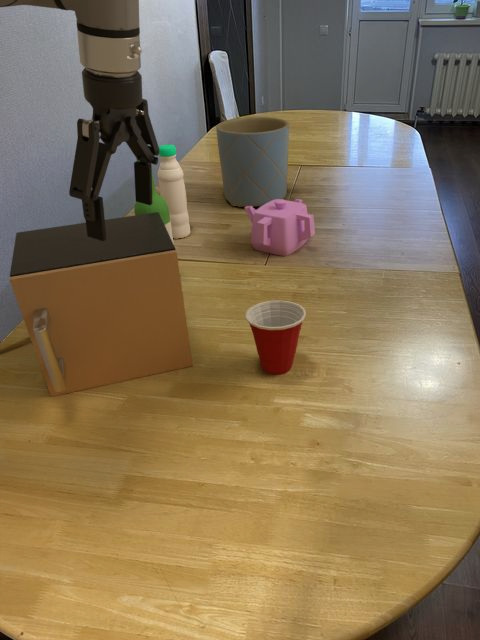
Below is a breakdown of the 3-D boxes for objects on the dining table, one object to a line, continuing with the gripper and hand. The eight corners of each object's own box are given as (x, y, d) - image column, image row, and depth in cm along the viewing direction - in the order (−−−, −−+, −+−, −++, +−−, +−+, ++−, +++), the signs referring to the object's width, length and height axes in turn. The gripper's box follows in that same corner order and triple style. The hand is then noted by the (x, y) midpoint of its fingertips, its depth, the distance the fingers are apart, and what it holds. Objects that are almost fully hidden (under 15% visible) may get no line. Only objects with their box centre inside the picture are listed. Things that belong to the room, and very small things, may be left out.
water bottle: (195, 234, 151) (185, 145, 137) (176, 241, 147) (164, 150, 133) (180, 228, 155) (168, 141, 141) (161, 235, 151) (147, 146, 137)
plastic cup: (296, 345, 104) (296, 293, 97) (312, 377, 95) (313, 323, 88) (243, 353, 102) (240, 300, 95) (254, 387, 93) (251, 332, 86)
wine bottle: (173, 271, 132) (155, 149, 115) (183, 283, 127) (166, 157, 109) (143, 278, 130) (120, 154, 112) (152, 291, 124) (129, 163, 107)
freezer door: (200, 387, 94) (185, 269, 80) (50, 422, 87) (5, 301, 74) (191, 363, 100) (175, 249, 86) (51, 393, 94) (9, 276, 80)
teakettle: (258, 261, 136) (256, 215, 128) (244, 236, 149) (242, 193, 142) (320, 252, 139) (321, 207, 131) (300, 228, 152) (301, 187, 145)
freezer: (191, 362, 100) (175, 248, 86) (51, 393, 94) (9, 275, 80) (174, 317, 114) (158, 211, 100) (51, 340, 108) (16, 232, 94)
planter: (291, 209, 165) (291, 131, 151) (220, 212, 165) (213, 134, 152) (287, 186, 184) (287, 115, 170) (223, 188, 184) (218, 118, 170)
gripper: (78, 98, 57) (97, 262, 71) (181, 58, 75) (180, 195, 89) (21, 83, 58) (50, 248, 72) (136, 48, 77) (141, 184, 91)
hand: (122, 219), depth 81 cm, fingers open, 13 cm apart
